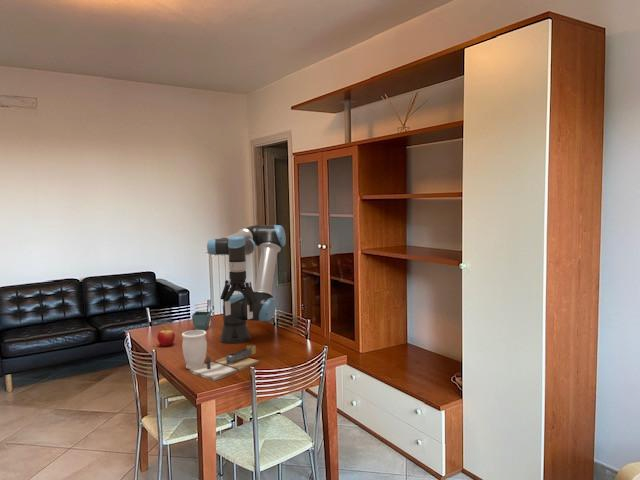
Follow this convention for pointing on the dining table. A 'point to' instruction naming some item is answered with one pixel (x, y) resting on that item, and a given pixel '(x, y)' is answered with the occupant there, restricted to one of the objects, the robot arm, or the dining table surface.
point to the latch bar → (241, 353)
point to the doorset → (223, 368)
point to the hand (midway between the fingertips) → (239, 316)
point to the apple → (166, 337)
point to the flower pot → (201, 320)
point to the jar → (194, 348)
